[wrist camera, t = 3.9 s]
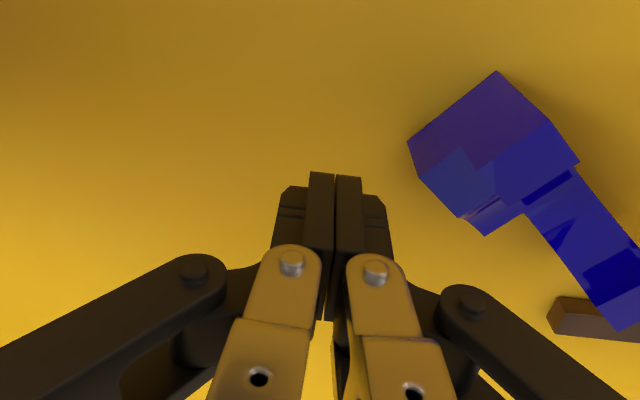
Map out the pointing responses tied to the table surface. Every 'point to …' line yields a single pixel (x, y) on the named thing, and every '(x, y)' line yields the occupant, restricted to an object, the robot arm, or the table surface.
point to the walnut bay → (586, 321)
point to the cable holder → (528, 189)
